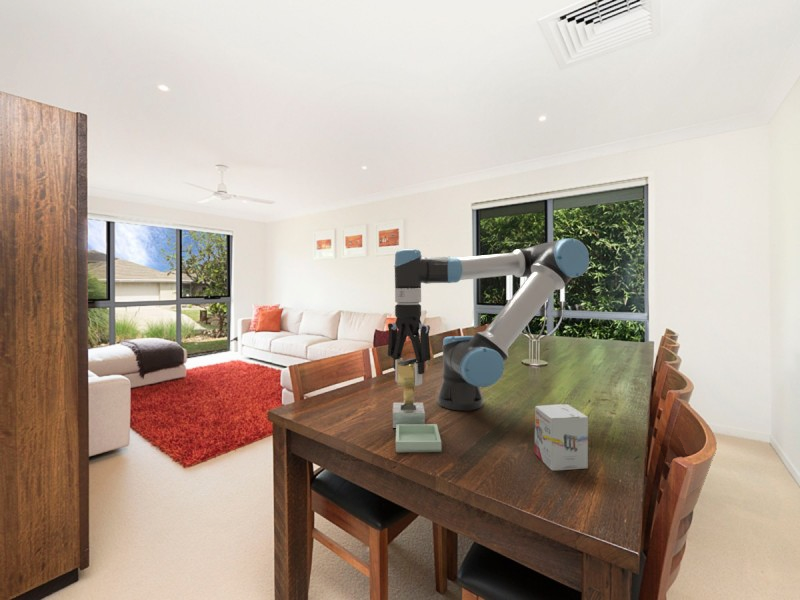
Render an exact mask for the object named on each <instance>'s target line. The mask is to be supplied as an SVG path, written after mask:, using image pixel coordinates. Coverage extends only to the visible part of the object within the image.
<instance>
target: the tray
mask: <svg viewBox="0 0 800 600" xmlns="http://www.w3.org/2000/svg"><path fill="white" fill-rule="evenodd" d="M395 453H442V439H441V435H440V432H439V428H438V424H437V423H425V424H396V429H395Z"/></svg>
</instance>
